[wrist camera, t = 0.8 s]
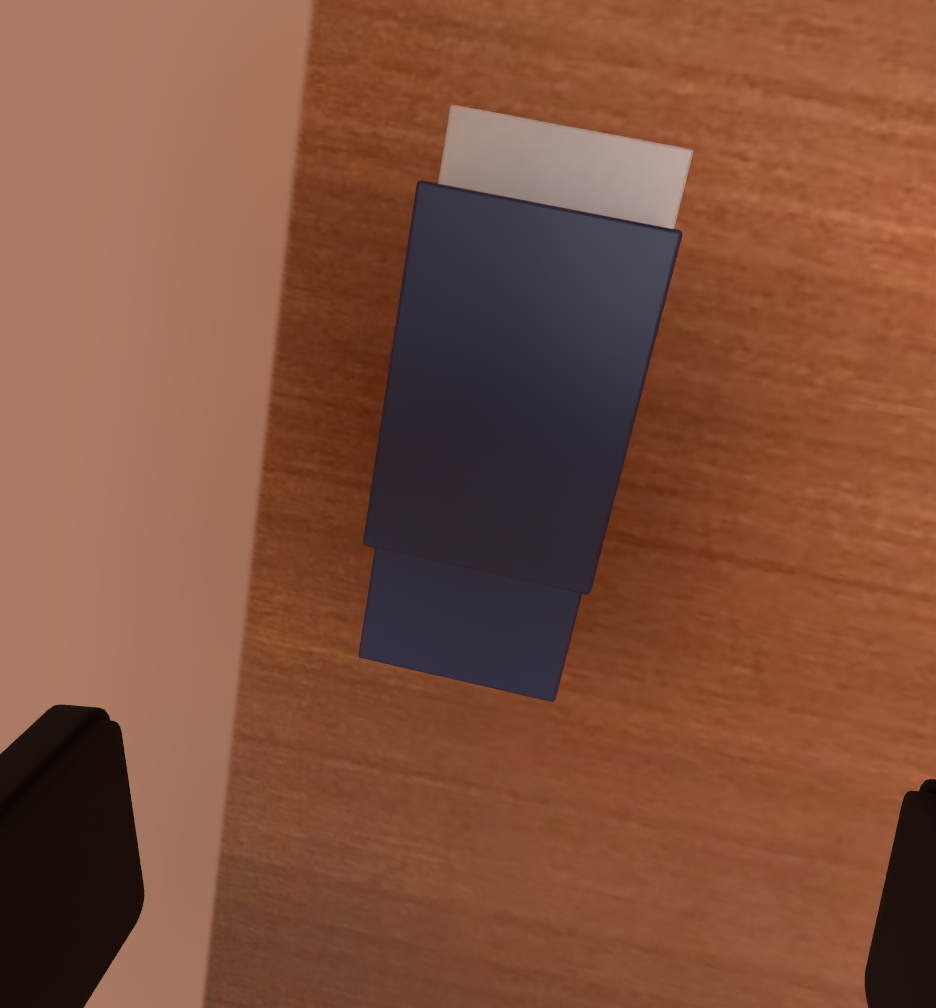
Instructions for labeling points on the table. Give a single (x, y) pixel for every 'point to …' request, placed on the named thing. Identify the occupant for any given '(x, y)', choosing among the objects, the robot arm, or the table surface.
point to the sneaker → (514, 392)
